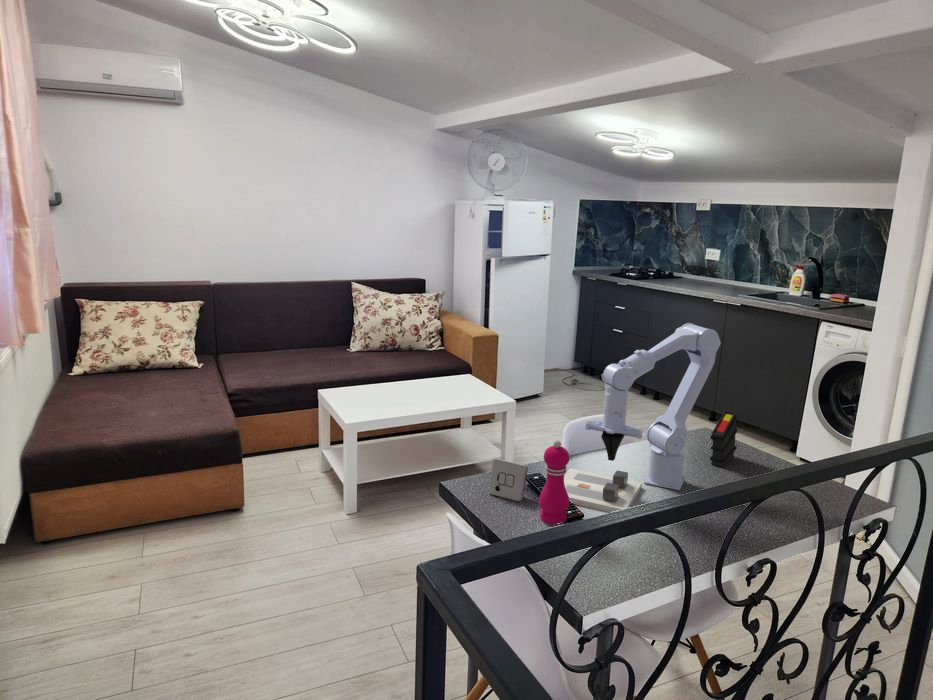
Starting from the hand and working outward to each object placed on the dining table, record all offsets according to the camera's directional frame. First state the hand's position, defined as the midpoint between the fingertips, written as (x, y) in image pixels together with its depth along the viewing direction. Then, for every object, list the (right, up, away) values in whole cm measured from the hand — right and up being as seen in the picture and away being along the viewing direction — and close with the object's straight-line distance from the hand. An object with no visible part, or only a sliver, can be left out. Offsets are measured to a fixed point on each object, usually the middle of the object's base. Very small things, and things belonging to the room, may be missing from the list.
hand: (611, 459), depth 174 cm
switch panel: (-4, -9, -1) cm, 10 cm away
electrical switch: (-28, -9, -3) cm, 29 cm away
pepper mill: (-17, -12, -15) cm, 26 cm away
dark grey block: (+2, -7, 0) cm, 7 cm away
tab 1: (-2, -8, -7) cm, 11 cm away
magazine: (+37, -5, +21) cm, 43 cm away
